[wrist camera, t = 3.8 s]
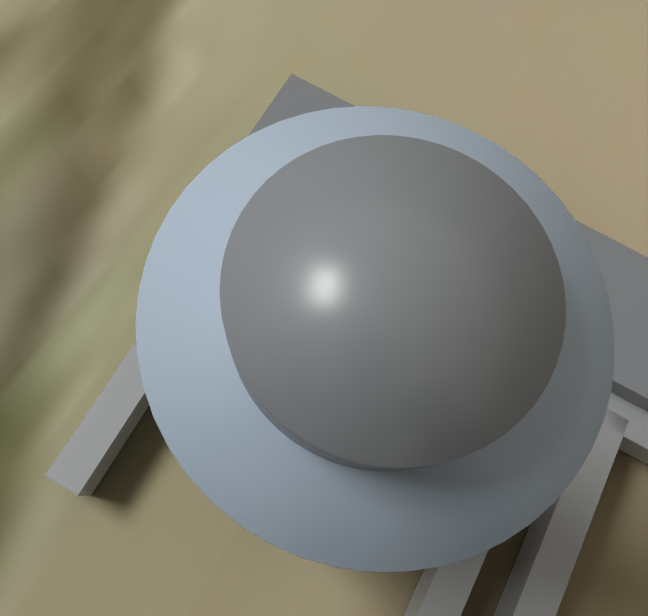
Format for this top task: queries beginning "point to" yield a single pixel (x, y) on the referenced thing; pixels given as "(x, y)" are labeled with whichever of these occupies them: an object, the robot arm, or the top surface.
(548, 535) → the parallel gray bars
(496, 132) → the top surface
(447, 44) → the top surface
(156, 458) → the top surface
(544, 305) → the pale blue cylinder
